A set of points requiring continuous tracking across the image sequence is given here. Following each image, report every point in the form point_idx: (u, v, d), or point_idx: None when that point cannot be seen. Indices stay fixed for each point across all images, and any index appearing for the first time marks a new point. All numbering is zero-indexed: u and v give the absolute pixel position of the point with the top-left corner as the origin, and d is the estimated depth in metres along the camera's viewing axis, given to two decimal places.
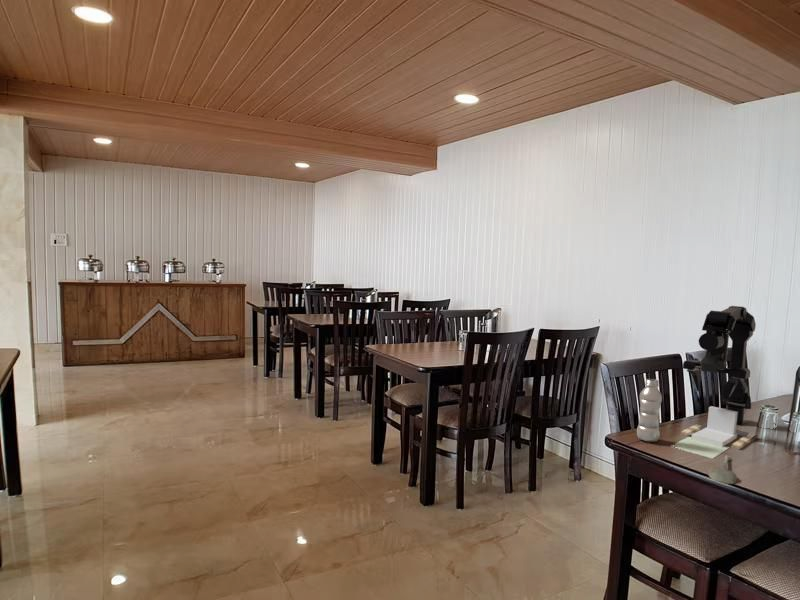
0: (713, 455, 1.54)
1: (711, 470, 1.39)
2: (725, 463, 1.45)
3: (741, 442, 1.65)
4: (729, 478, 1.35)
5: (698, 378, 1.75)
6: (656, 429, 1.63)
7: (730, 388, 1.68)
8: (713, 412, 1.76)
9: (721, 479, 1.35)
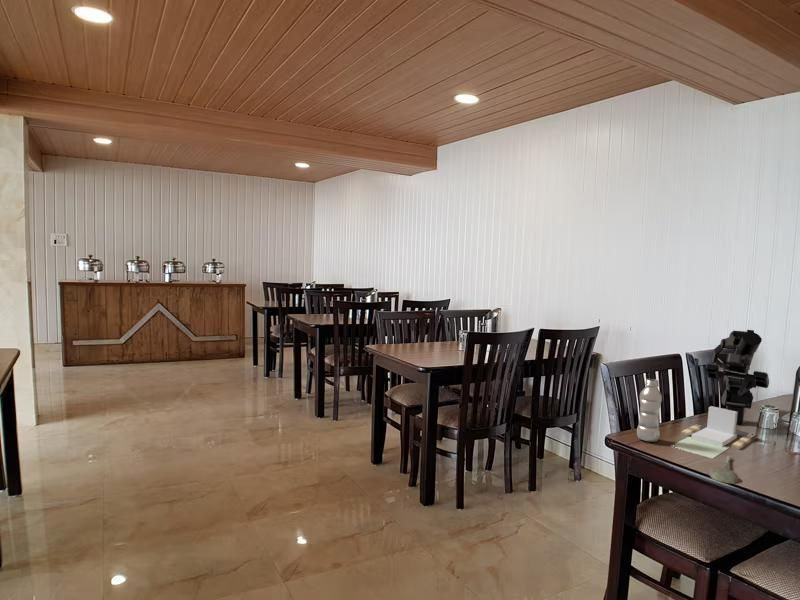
0: (713, 455, 1.54)
1: (712, 470, 1.39)
2: (727, 463, 1.45)
3: (741, 442, 1.65)
4: (730, 478, 1.35)
5: (723, 382, 1.83)
6: (656, 429, 1.63)
7: (742, 386, 1.77)
8: (713, 412, 1.76)
9: (722, 479, 1.35)
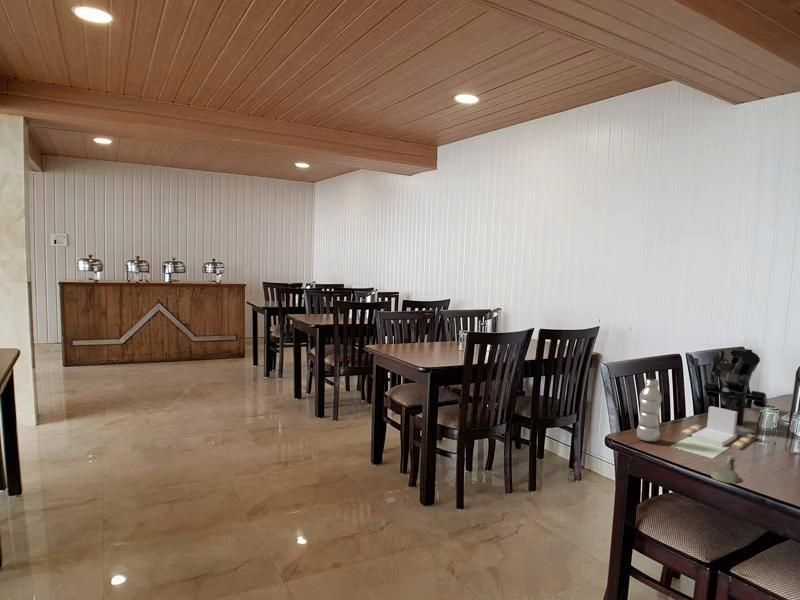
0: (713, 455, 1.54)
1: (713, 470, 1.39)
2: (727, 463, 1.45)
3: (741, 442, 1.65)
4: (731, 477, 1.35)
5: (730, 402, 1.81)
6: (656, 429, 1.63)
7: (732, 405, 1.79)
8: (713, 412, 1.76)
9: (723, 479, 1.36)
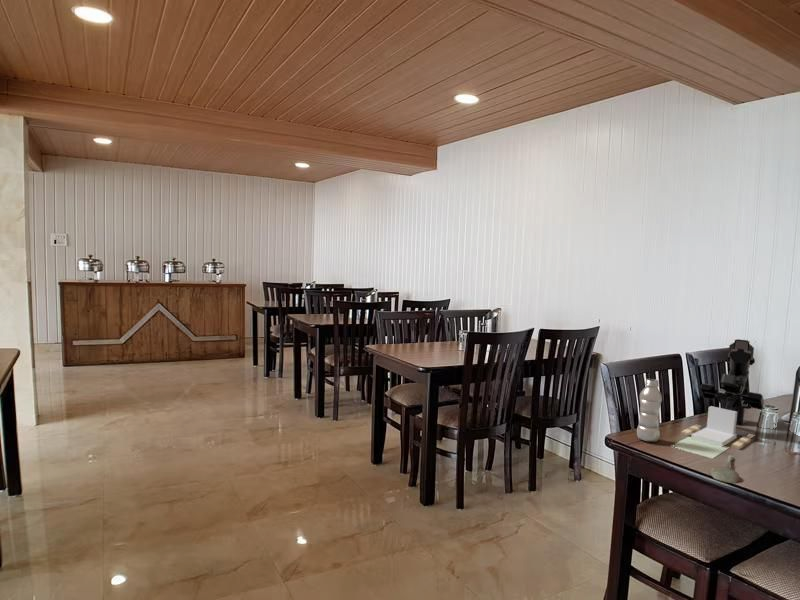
0: (713, 455, 1.54)
1: (713, 469, 1.40)
2: (728, 463, 1.45)
3: (741, 442, 1.65)
4: (731, 477, 1.36)
5: (726, 404, 1.78)
6: (656, 429, 1.63)
7: (728, 406, 1.76)
8: (713, 412, 1.76)
9: (723, 478, 1.36)
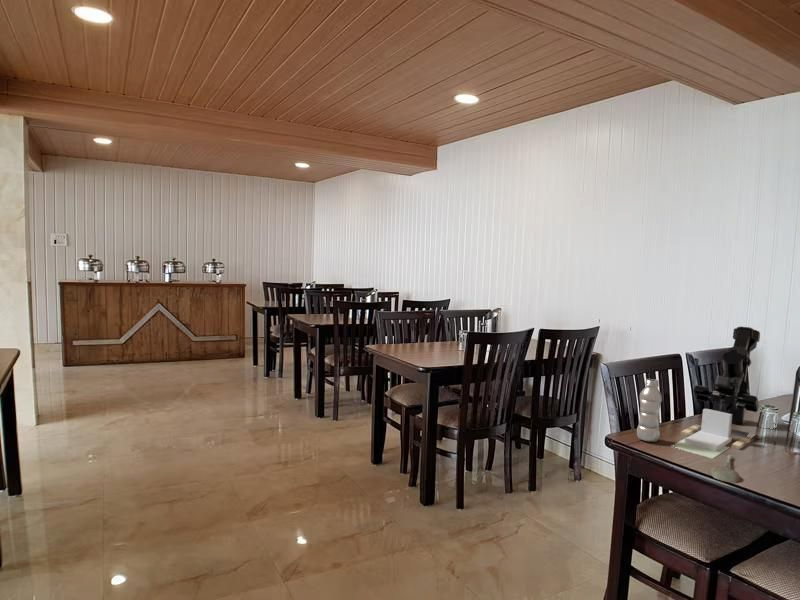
0: (713, 455, 1.54)
1: (714, 469, 1.40)
2: (728, 462, 1.46)
3: (741, 442, 1.65)
4: (732, 477, 1.36)
5: (720, 406, 1.74)
6: (656, 429, 1.63)
7: (722, 408, 1.72)
8: (707, 415, 1.71)
9: (724, 478, 1.36)
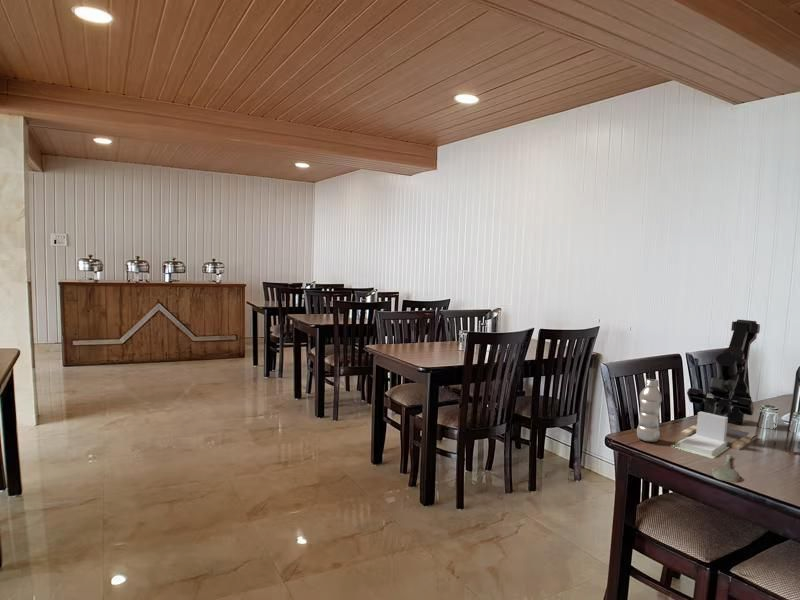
0: (713, 455, 1.54)
1: (714, 469, 1.40)
2: (727, 462, 1.46)
3: (741, 442, 1.65)
4: (732, 476, 1.36)
5: (714, 409, 1.70)
6: (656, 429, 1.63)
7: (716, 412, 1.68)
8: (702, 418, 1.67)
9: (724, 478, 1.36)
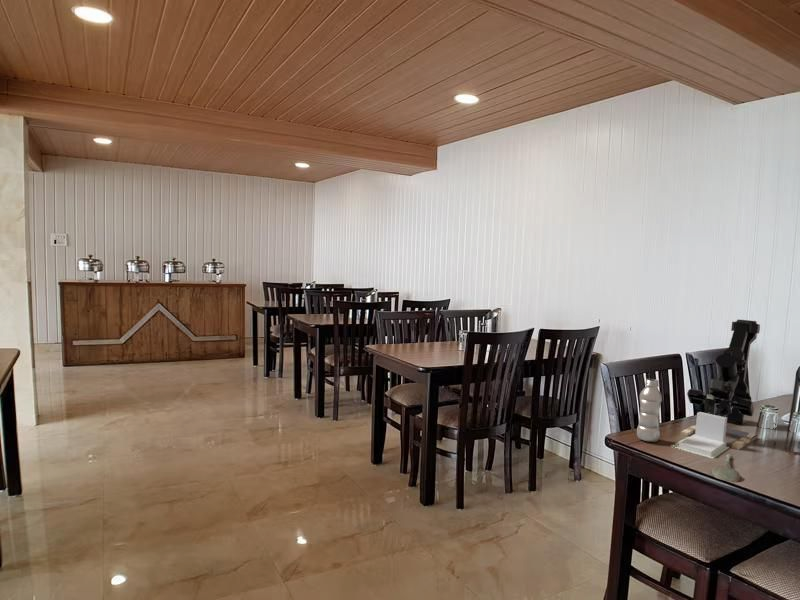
0: (713, 455, 1.54)
1: (714, 469, 1.40)
2: (727, 461, 1.46)
3: (741, 442, 1.65)
4: (732, 476, 1.36)
5: (714, 410, 1.70)
6: (656, 429, 1.63)
7: (716, 413, 1.68)
8: (702, 418, 1.67)
9: (725, 478, 1.36)
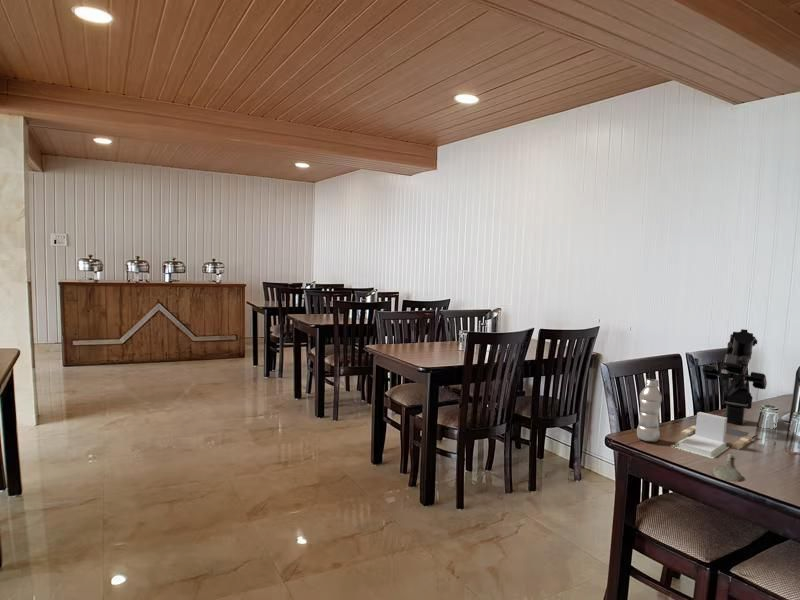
0: (713, 455, 1.54)
1: (715, 468, 1.41)
2: (728, 461, 1.46)
3: (741, 442, 1.65)
4: (733, 475, 1.37)
5: (728, 384, 1.78)
6: (656, 429, 1.63)
7: (731, 386, 1.77)
8: (702, 418, 1.67)
9: (725, 477, 1.37)
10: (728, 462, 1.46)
